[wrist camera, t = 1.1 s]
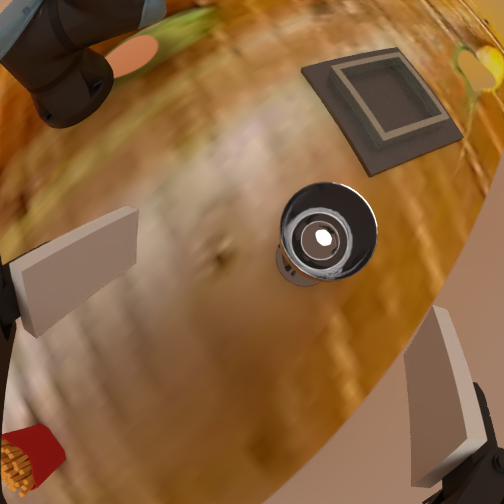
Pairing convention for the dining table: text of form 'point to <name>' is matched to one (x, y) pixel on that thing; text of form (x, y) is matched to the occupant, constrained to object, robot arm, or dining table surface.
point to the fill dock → (382, 108)
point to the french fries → (29, 457)
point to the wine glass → (325, 234)
